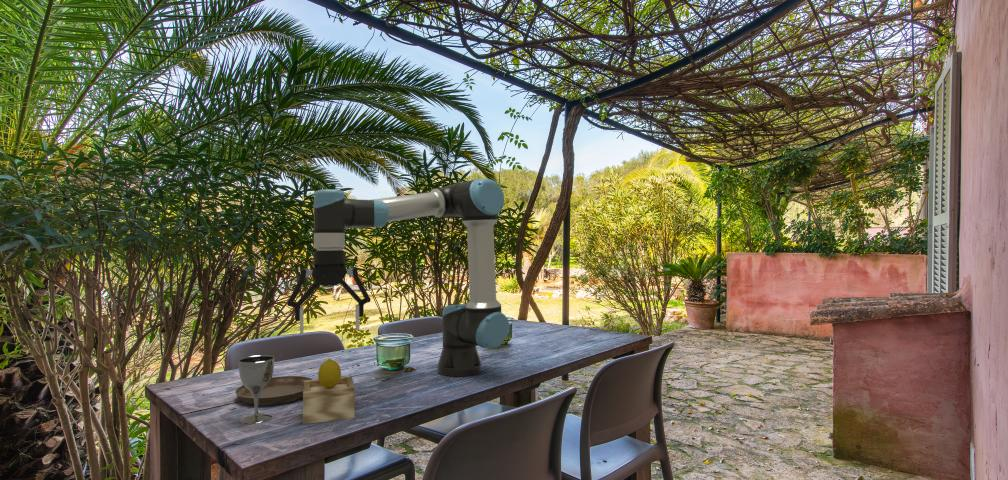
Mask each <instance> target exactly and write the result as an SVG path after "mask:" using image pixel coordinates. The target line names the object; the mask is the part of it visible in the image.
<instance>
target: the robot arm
mask: <svg viewBox="0 0 1008 480" xmlns="http://www.w3.org/2000/svg"><path fill="white" fill-rule="evenodd" d="M504 205H505V195H504V192H503V190H502V188H501V186H500V185H499V184H498V183H497V182H496V181H494V180H493V179H490V178H477V179H471V180H467V181H466V180H465V181H460V182H456V183H453V184H450V185H446V186H442V187H438V188H437V187H435V188H433V189H431V190H430V192H429V191H428V192H422V193H416V194H415V193H413V194H407V195H406V194H405V195H399V196H390V197H381V198H374V199H354V198H353V199H352V198H346V196H345V192H344V191H343V190H339V189H329V188H328V189H325V188H324V189H318V190H316V191H315V192H314V195H313V207H312V208H313V249H316V250H315V251H314V252H313V262H314V263H313V264H314V265H313V269H306V268H302V269H301V271H300V277H299V280H298V282H297V284H296V286H295V287H294V289H293V291H292V293H291V295H290V297H289V299H288V300H287V302H286V305H287V307H291V308H293V309H294V320H295V321H296V322H299V335H301V336H302V335H304V307H301V306H302V305H303V304H304V303H305V302H306V301H307V299H308V298H309V297H310V296H311V295H312V293H314V291H315V290H316V289H317V288H318V287H319V286H322V287H328V286H339V285H340V286H341V287H343V289H345V291H346V292H347V293H348V294H349V295H350V296H351V297H352V298H353V299H354V300H355V301H356V303H358V304H355V331H357V332H359V331H360V318H364V314H365V312H364V305H365V304H368V303H370V302H371V301H372V300H371V298H370V296H369V294H368V291H367V290H366V288H365V286H364V285H363V282H362V281H361V279H360V277H359V271H358V268H357V267H351V268H346V255H345V254H346V252H345V251H344V248H345V246H346V245H345V244H346V241H345V239H346V238H345V237H346V235H345V233H346V231H345V230H347V229H361V228H373V229H375V228H382V227H385V226H386V225H387V224H388V223H391V222H396V221H397V222H398V221H404V220H411V219H416V218H417V219H418V218H424V217H430V216H434V217H435V218H441V217H443V218H445V217H461V222H462V223H463V225H464V226H465V227H466V233H467V234H466V235H467V257H468V258H467V259H468V260H467V261H468V280H469V281H468V286H469V287H468V288H469V302H467V303H463V304H452V305H450V304H449V305H445V306H444V307H443V310H442V317H441V319H442V350H441V353H440V356H439V360H438V362H437V373H438V374H440V375H443V376H446V377H447V376H448V377H465V376H466V377H467V376H473V375H478V374H479V373H481V372H482V363H481V362H482V361H481V358H480V356H479V352H478V349H477V347H480V348H482V349H483V348H484V349H485V348H486V349H494V348H498V347H499V346H501V345H502V344H503V343H504V342H505V340H506V339H507V337H508V335H509V332H510V322H509V319H508V317H507V316H506V314H504V313H503V312H502V304H501V302H500V301H498V300H497V285H496V283H497V282H496V261H495V260H496V258H495V235H494V233H495V232H494V226H495V224H496V223H497V222H498V220H499V218H498V217H499V216H498V214H499V213H500V212H501V211H502V209H503V208H504ZM347 274H349V276H350V277H353V280H354V282H355V284H356V286H357V288H358V289H359V291H360V293H361V295H362V296H363V298H361V297H360V296H359V295H358V294H357V293H356V291H354V290H353V289H352V288H351V286H350V285H349V284H348V283H347V282H346V281H345V280H344V278H345V277H346V275H347ZM310 275H312V276H313V278H315V281H314V282H313V283H312V284H311V286H309V288H308V289H307V290H306V291H305V292H304V294H303V295H302V296H301V297H300V298H299V300H297V302H296V301H295V299H296V298H297V296H298V294H299V292H300V290H301V289H302V287H303V284H304V283H305V280H306V279H308V278H310Z"/></svg>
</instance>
